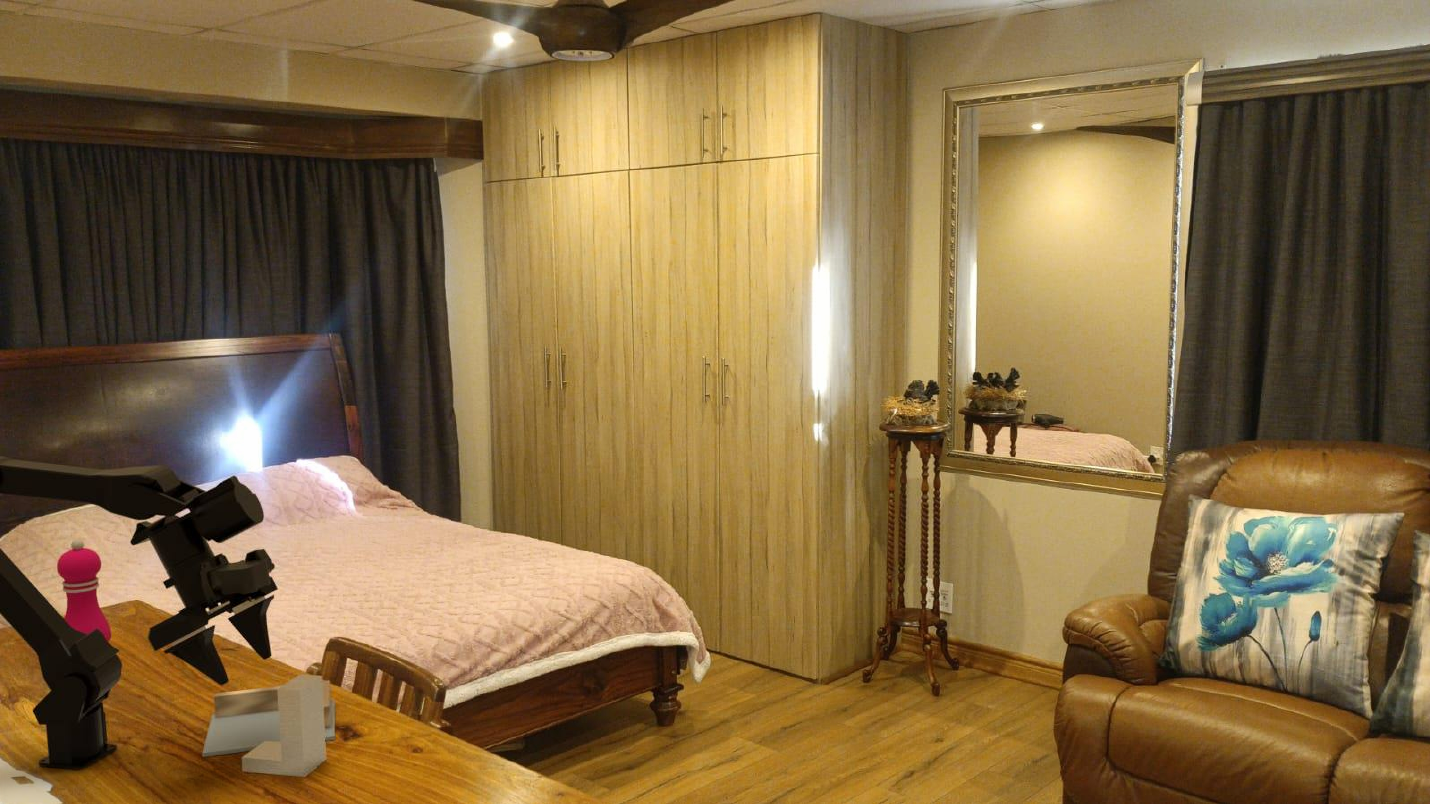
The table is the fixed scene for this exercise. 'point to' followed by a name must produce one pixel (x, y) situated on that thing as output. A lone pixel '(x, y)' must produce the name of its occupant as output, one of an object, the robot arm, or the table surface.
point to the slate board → (248, 732)
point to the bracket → (294, 732)
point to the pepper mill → (82, 589)
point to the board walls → (261, 702)
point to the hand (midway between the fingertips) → (247, 670)
